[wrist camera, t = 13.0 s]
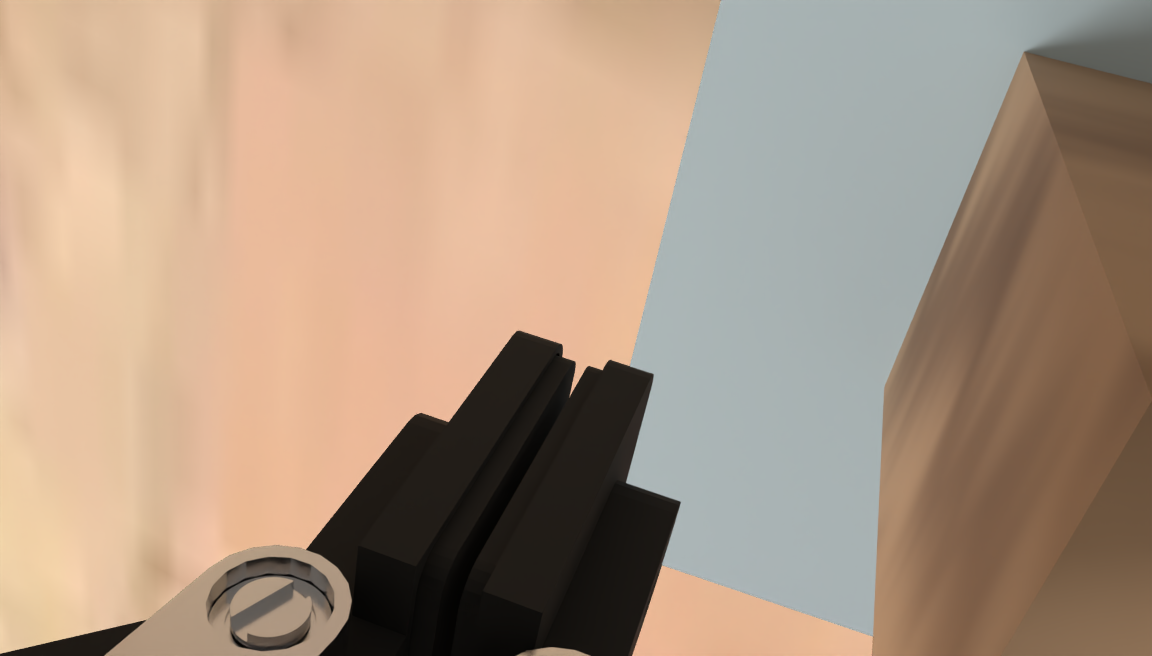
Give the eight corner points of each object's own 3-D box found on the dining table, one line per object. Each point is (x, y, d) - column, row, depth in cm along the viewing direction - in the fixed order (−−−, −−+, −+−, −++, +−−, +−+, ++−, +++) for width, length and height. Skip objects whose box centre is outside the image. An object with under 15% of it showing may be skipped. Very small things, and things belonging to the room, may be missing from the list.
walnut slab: (1023, 51, 17) (1152, 400, 8) (1241, 106, 17) (1646, 545, 7) (884, 387, 21) (861, 891, 12) (1059, 440, 20) (1179, 1011, 11)
